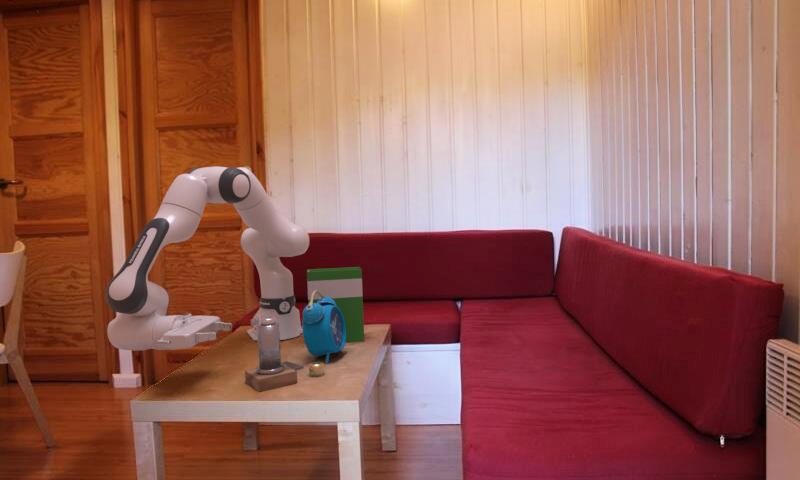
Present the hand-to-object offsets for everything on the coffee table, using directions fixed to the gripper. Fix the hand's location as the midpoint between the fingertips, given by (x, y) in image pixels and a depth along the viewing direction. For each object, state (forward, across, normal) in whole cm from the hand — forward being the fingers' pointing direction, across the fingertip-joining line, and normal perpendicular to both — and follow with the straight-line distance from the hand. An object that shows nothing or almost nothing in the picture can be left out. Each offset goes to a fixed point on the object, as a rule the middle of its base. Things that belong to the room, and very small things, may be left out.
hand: (223, 331), depth 139 cm
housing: (+12, -1, +10) cm, 16 cm away
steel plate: (+13, +11, +14) cm, 22 cm away
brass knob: (+23, +5, +14) cm, 27 cm away
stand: (+12, -1, +13) cm, 18 cm away
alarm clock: (+22, +22, +14) cm, 34 cm away
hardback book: (+22, +41, +14) cm, 49 cm away
